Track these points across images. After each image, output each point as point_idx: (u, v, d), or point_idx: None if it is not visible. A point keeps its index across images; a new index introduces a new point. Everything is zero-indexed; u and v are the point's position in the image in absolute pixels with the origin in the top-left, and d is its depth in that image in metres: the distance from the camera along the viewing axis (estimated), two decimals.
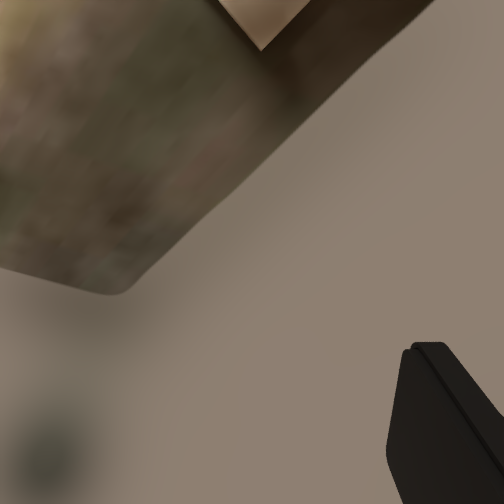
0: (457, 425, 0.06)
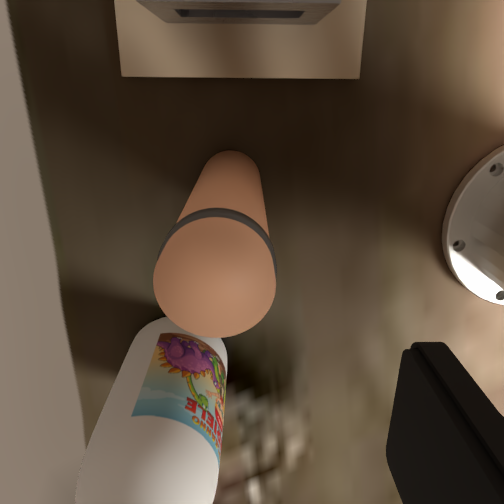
0: (457, 425, 0.06)
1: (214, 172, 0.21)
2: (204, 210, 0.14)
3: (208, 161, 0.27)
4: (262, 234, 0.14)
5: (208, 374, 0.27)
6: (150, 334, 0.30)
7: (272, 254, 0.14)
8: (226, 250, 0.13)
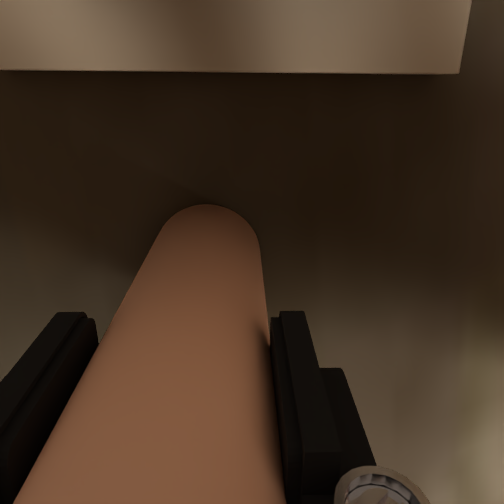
0: (282, 374, 0.07)
1: (153, 297, 0.09)
2: None
3: (164, 227, 0.15)
4: None
5: None
6: None
7: None
8: None
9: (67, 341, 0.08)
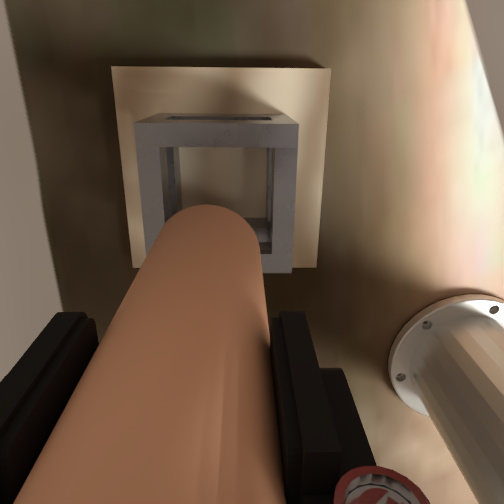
0: (282, 374, 0.07)
1: (153, 298, 0.09)
2: None
3: (164, 228, 0.15)
4: None
5: None
6: None
7: None
8: None
9: (67, 341, 0.08)
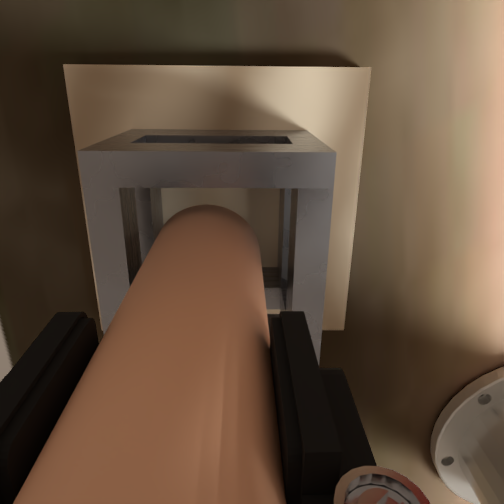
0: (282, 374, 0.07)
1: (153, 298, 0.09)
2: None
3: (164, 228, 0.15)
4: None
5: None
6: None
7: None
8: None
9: (67, 341, 0.08)
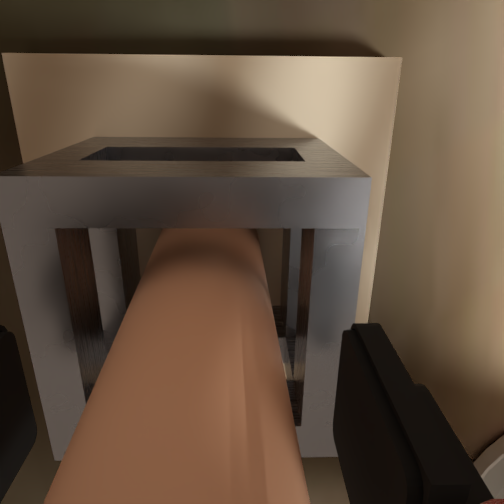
0: (375, 394, 0.07)
1: (172, 274, 0.10)
2: None
3: None
4: None
5: None
6: None
7: None
8: None
9: None
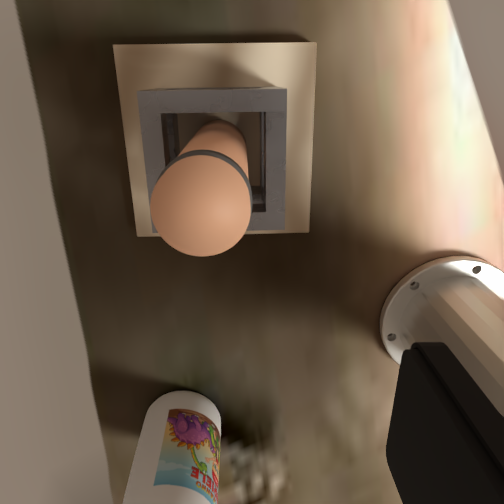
0: (457, 425, 0.06)
1: (202, 133, 0.24)
2: (191, 151, 0.17)
3: None
4: (239, 169, 0.17)
5: (206, 443, 0.37)
6: (161, 409, 0.40)
7: (248, 186, 0.18)
8: (209, 179, 0.16)
9: None
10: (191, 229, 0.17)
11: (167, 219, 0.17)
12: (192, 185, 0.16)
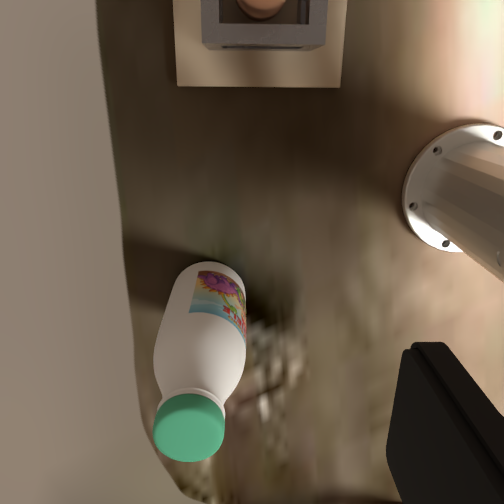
0: (457, 425, 0.06)
1: None
2: None
3: None
4: None
5: (235, 296, 0.39)
6: (191, 272, 0.41)
7: None
8: None
9: None
10: None
11: None
12: None
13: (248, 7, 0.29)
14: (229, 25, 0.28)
